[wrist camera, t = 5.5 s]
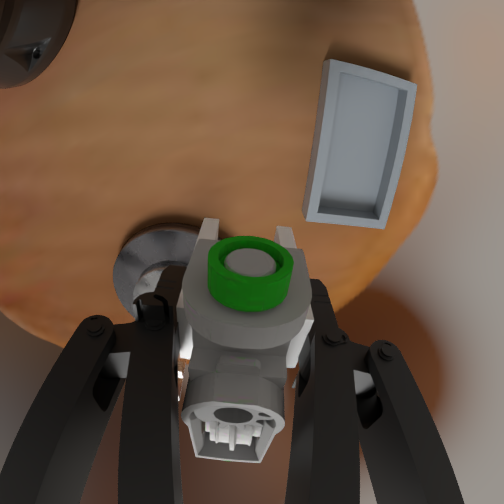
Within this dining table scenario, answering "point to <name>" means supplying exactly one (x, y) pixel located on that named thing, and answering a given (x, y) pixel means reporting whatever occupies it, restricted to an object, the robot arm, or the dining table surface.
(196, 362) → the mechanical component
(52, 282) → the dining table surface
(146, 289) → the crank
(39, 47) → the robot arm
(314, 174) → the tray
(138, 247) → the crank base
